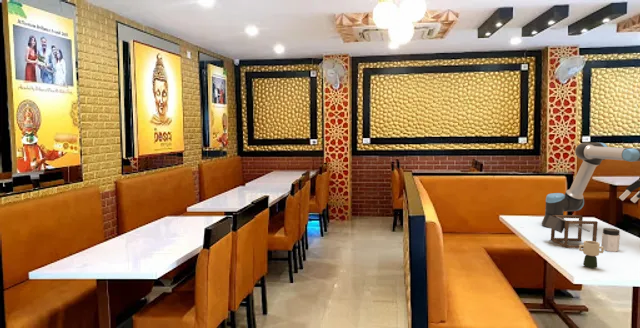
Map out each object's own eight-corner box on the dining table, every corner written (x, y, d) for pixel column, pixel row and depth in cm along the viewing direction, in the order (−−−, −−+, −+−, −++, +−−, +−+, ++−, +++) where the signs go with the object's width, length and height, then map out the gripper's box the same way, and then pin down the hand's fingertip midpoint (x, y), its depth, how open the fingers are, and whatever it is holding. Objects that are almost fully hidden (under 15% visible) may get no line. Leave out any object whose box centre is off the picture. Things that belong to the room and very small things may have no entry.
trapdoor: (544, 225, 291) (549, 213, 290) (572, 237, 291) (577, 225, 290) (554, 230, 277) (560, 218, 276) (584, 242, 277) (590, 230, 276)
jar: (603, 250, 271) (604, 230, 269) (599, 247, 278) (600, 227, 277) (620, 252, 268) (622, 231, 267) (616, 248, 276) (618, 228, 274)
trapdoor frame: (550, 240, 294) (552, 215, 292) (579, 240, 293) (581, 215, 292) (564, 247, 276) (566, 221, 274) (595, 248, 275) (597, 221, 274)
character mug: (601, 266, 240) (602, 241, 239) (603, 270, 234) (605, 245, 233) (577, 263, 245) (578, 239, 243) (578, 267, 238) (580, 242, 237)
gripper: (672, 179, 256) (643, 206, 259) (647, 177, 281) (621, 202, 283) (661, 169, 257) (632, 197, 260) (637, 168, 282) (611, 194, 284)
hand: (626, 200), depth 271 cm, fingers open, 13 cm apart
